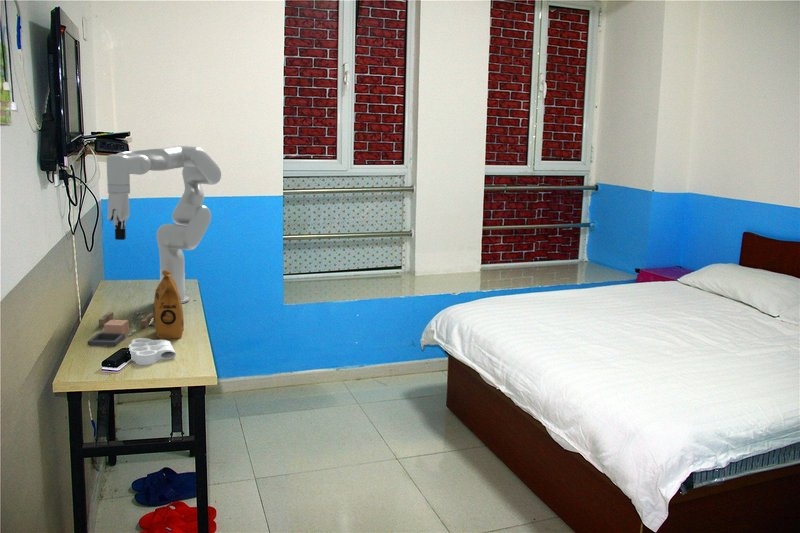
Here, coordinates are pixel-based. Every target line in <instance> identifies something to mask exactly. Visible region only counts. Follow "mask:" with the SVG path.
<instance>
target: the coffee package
mask: <svg viewBox="0 0 800 533" xmlns="http://www.w3.org/2000/svg"><path fill="white" fill-rule="evenodd" d="M162 274H163V275H164V278H163V279H162V281H161V282H160V281H159V284H158V285H157V287H156V289H155V292H154V293H155V294H154V300H153V308H152V311H153V313H152V314H153V316H154V322H153V324H154V329H155V333H156V336H157V338H158V340H171V339H181V338H182V335H183V332H184V331H185V330H184V329H185V328H184V324H185V323H184V310H183V303H181V299H180V296H179V292H178V289H177V285H176V283H175V281H174V280H173V278H172V277H171V273H170V272H169V271H168V270H166V269H165V270H164V271H163V272H162Z"/></svg>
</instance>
